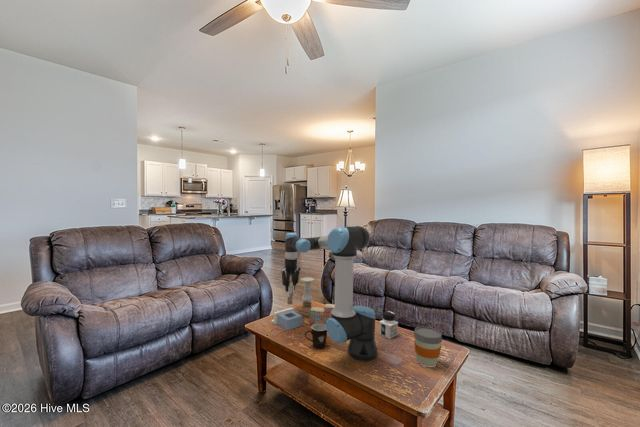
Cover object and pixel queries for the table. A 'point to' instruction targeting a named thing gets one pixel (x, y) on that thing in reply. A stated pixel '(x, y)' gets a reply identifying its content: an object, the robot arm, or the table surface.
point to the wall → (280, 313)
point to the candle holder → (306, 297)
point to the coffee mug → (318, 335)
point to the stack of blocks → (321, 314)
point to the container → (388, 325)
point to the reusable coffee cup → (427, 345)
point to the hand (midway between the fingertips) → (290, 295)
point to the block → (289, 320)
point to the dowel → (290, 292)
